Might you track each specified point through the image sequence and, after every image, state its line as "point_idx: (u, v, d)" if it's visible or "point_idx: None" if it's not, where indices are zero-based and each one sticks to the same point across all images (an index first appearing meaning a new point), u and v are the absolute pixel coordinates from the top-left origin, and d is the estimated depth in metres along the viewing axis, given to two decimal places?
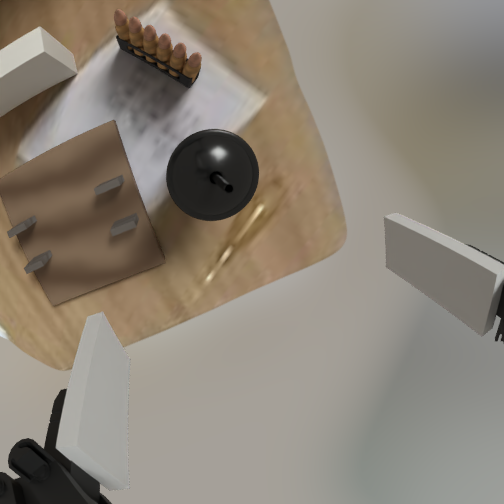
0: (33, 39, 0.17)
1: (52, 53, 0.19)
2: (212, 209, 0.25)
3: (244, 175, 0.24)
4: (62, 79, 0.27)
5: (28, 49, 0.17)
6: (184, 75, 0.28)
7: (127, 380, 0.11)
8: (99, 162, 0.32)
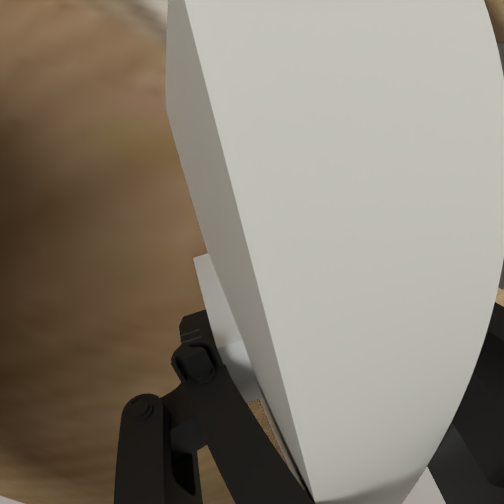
0: (369, 51, 0.02)
1: None
2: None
3: None
4: None
5: (453, 132, 0.02)
6: None
7: None
8: None
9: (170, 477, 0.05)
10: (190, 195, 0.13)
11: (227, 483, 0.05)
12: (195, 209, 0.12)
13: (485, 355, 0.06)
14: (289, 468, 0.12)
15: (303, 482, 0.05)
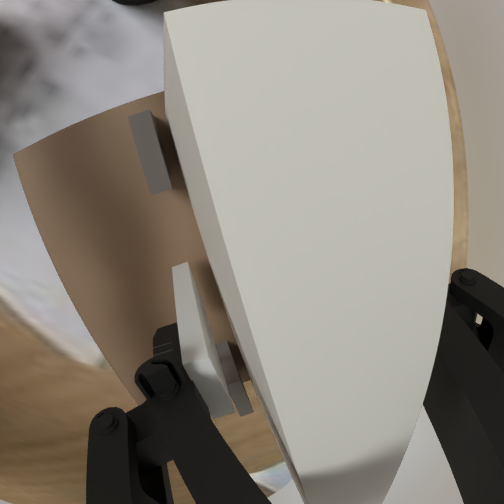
0: (306, 76, 0.02)
1: None
2: None
3: None
4: None
5: (384, 131, 0.03)
6: None
7: (208, 325, 0.13)
8: (101, 182, 0.13)
9: (138, 488, 0.05)
10: (188, 193, 0.13)
11: (196, 499, 0.04)
12: (192, 205, 0.12)
13: (503, 344, 0.06)
14: None
15: (287, 453, 0.06)
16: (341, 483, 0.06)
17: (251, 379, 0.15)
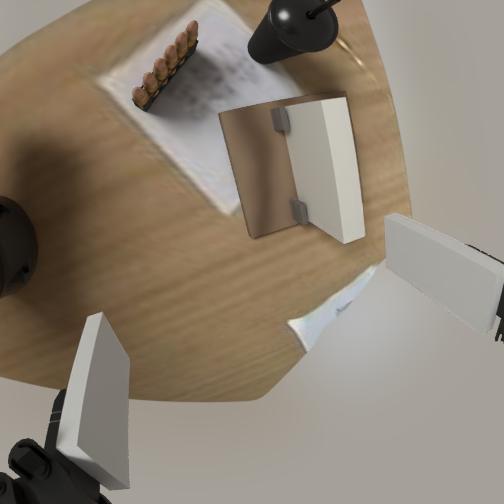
0: (331, 107, 0.28)
1: None
2: (331, 25, 0.24)
3: None
4: None
5: (339, 112, 0.28)
6: (193, 45, 0.29)
7: (127, 380, 0.11)
8: (256, 128, 0.38)
9: None
10: (287, 134, 0.39)
11: None
12: (291, 136, 0.38)
13: None
14: (324, 225, 0.38)
15: (330, 171, 0.31)
16: (344, 185, 0.31)
17: (308, 204, 0.41)
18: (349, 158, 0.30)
